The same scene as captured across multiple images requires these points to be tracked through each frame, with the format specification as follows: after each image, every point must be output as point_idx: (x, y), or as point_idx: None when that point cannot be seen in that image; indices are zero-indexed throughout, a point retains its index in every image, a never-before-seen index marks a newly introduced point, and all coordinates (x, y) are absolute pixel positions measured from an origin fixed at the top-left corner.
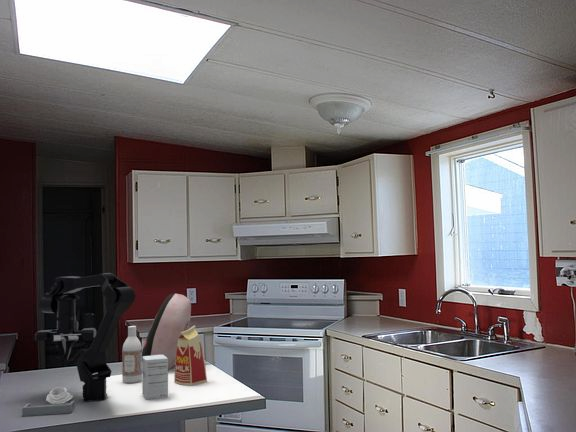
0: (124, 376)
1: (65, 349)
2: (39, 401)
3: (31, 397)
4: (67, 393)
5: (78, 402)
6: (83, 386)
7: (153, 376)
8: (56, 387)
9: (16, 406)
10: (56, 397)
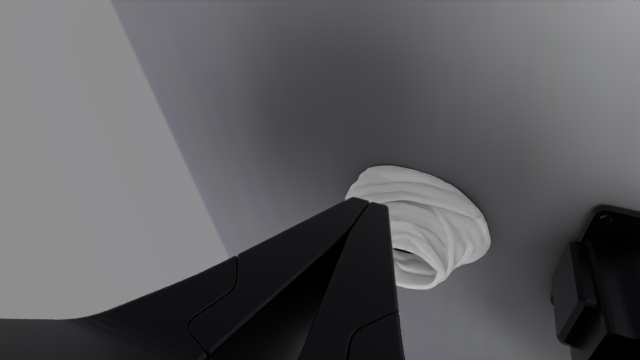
0: None
1: (287, 323)
2: (312, 171)
3: (245, 63)
4: (452, 269)
5: (520, 289)
6: (561, 338)
7: None
8: None
9: (240, 206)
10: (395, 273)
